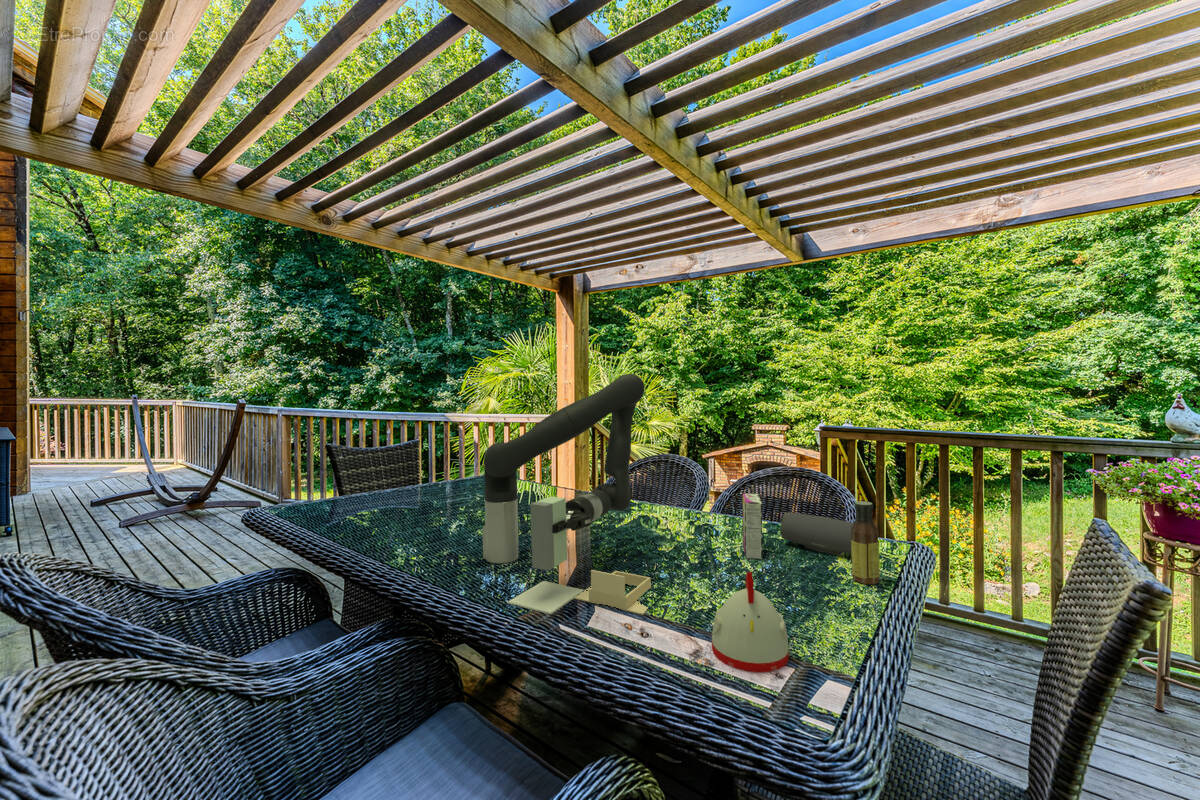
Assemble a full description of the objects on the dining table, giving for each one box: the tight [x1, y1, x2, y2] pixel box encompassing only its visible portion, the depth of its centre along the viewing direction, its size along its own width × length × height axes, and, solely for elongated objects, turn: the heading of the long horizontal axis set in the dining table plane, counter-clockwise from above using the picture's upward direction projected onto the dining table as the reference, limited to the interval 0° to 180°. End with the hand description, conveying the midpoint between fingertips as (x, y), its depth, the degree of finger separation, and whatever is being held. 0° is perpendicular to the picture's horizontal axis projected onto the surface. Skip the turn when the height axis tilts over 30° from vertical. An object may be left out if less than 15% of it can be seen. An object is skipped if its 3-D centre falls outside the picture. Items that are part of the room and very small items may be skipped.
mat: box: [507, 580, 585, 615], centre depth 125 cm, size 12×14×1 cm
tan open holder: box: [573, 569, 652, 616], centre depth 127 cm, size 18×17×8 cm
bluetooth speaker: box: [779, 512, 854, 556], centre depth 156 cm, size 23×9×10 cm, turn 47°
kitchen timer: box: [711, 571, 789, 673], centre depth 99 cm, size 14×14×15 cm
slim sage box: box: [529, 496, 568, 571], centre depth 125 cm, size 4×8×15 cm, turn 150°
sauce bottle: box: [850, 500, 881, 585], centre depth 132 cm, size 6×6×20 cm
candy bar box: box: [741, 492, 763, 560], centre depth 154 cm, size 11×5×16 cm, turn 168°
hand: (544, 527), depth 123 cm, fingers closed on slim sage box, 4 cm apart
